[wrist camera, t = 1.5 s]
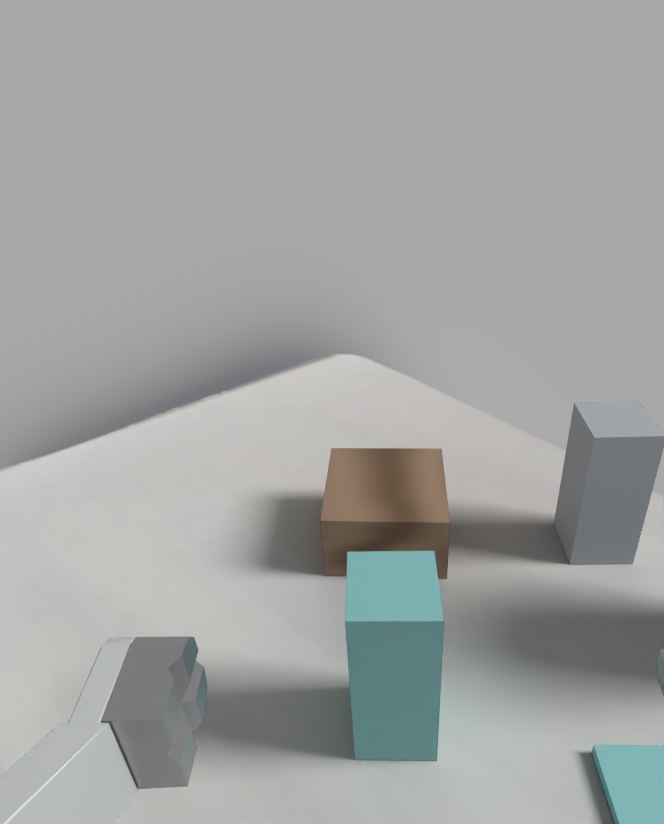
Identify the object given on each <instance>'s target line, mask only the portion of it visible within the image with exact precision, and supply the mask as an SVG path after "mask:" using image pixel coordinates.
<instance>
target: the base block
mask: <svg viewBox="0 0 664 824" xmlns="http://www.w3.org/2000/svg"><path fill="white" fill-rule="evenodd" d="M320 525H321V536H322V547H323V559H324V570H325V576H345V577H347V552H367V551H434V552H435V559H436V567H437V574H438V579H447V568H448V549H449V531H450V519H449V510H448V502H447V493H446V484H445V475H444V467H443V458H442V449H357V448H332V449H331V455H330V461H329V468H328V474H327V480H326V487H325V493H324V500H323V506H322V512H321V519H320Z"/></svg>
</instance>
